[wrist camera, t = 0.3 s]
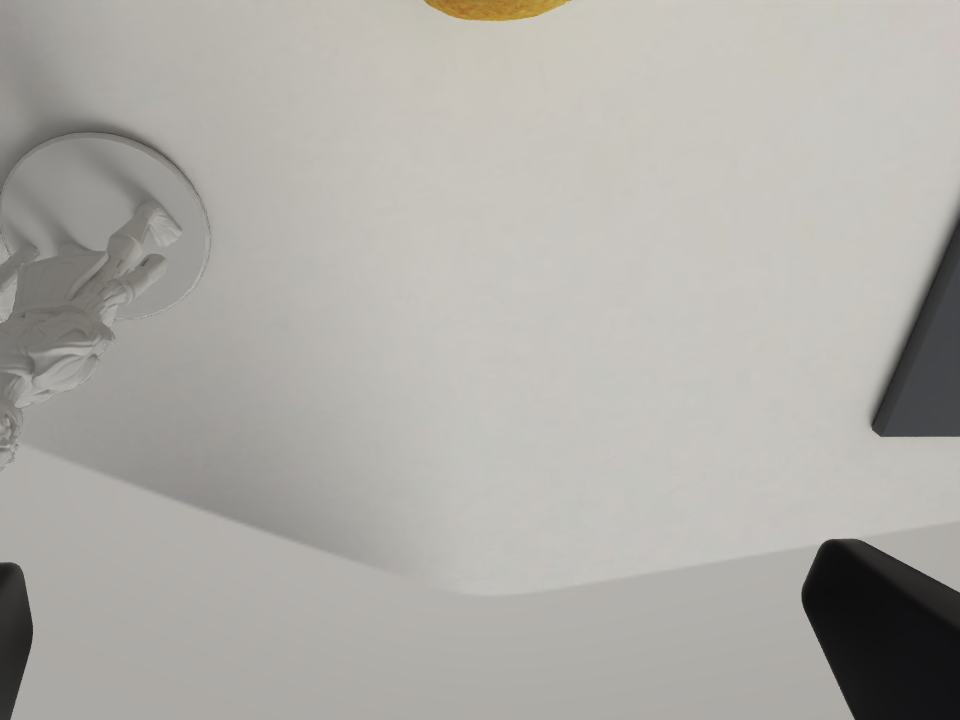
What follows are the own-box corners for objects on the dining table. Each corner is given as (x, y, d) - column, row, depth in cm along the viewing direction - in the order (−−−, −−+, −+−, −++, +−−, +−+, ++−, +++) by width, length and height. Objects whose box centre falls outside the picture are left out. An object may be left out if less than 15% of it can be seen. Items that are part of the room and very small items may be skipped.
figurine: (49, 332, 21) (-222, 682, 10) (-35, 150, 18) (-504, 369, 8) (233, 298, 21) (150, 597, 11) (176, 117, 19) (0, 281, 8)
